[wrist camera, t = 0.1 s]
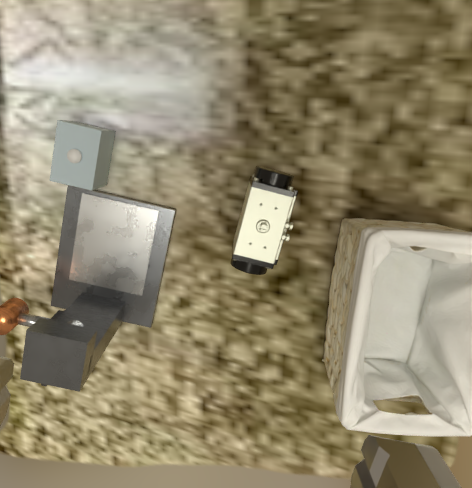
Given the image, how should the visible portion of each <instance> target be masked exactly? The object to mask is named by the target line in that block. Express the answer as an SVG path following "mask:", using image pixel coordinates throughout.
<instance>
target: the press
mask: <svg viewBox="0 0 472 488" xmlns="http://www.w3.org/2000/svg"><path fill="white" fill-rule="evenodd" d="M175 212H176V209H174V208H170V207H165V206H161V205H157V204H153V203H148V202H144V201H140V200H136V199H132V198H127V197H123V196H119V195H115V194H110V193H106V192H102V191H98V190H87V189H83V188H79V187H75V186H70V185H68V188H67V195H66V202H65V209H64V216H63V223H62V230H61V238H60V245H59V252H58V259H57V266H56V273H55V280H54V287H53V294H52V301H51V306H55V307H59V308H64V309H66V310H65V311H60V310H59V311H58V312H57V313H56V314H55V315H54V316H53V317H52V318H51V320H50V319H45V318H41V317H40V318H39V319H38V320H37V321H36V322H35V323H34V324H33V325H32V326H31V327H29V328H28V329H27V331H26V339H25V346H24V354H23V362H22V370H21V377H20V379H22V380H27V381H32V382H36V383H41V385H42V386H47V385H51V386H56V387H60V388H65V389H70V390H75V391H80V390H81V388H82V387H83V385H84V384H85V382H86V380H87V379H88V377H89V375H90V374H91V372H92V370H93V369H94V367H95V365H96V364H97V362H98V361H99V359H100V357H101V356H102V354H103V352H104V351H105V349H106V347H107V346H108V344H109V342H110V341H111V339H112V338H113V336H114V334H115V333H116V331H117V329H118V328H119V326H120V324H121V323H122V321H123V322H128V323H132V324H137V325H142V326H146V327H151V326H152V323H153V318H154V313H155V309H156V304H157V299H158V294H159V289H160V285H161V280H162V275H163V270H164V265H165V260H166V256H167V251H168V246H169V241H170V236H171V232H172V227H173V222H174V217H175Z"/></svg>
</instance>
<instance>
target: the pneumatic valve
mask: <svg viewBox="0 0 472 488" xmlns="http://www.w3.org/2000/svg"><path fill="white" fill-rule="evenodd" d="M293 178H294V176H293V175H290V174H287V173H284V172H281V171H277V170H273V169H269V168H265V167H260V166H256V169H255V173H254V174H253V176H251V177H250V180H249V184H248V188H247V192H246V196H245V199H244V203H243V207H242V211H241V214H240V218H239V222H238V226H237V230H236V233H235V237H234V241H233V245H232V259H231V265H232V266H233V267H235V268H236V269H238V270H241V271H243V272H246V273H250V274H256V275H262V274H265V273H266V271H267V268H268V269H270V268H271V269H273V266H274V265H276V264H277V261H278V258H279V254H280V251H281V247H282V244H283V241H284V240H285V241H289V238H290V235H289V234H287V235H286V230H287V229H288V227H289V230H292V228H293V223H290V224H289V220H290V217H291V213H292V210H293V207H294V203H295V200H296V196H297V193H298V191H297V190H296V189H295V188H293V187H291V184H292V181H293Z"/></svg>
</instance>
